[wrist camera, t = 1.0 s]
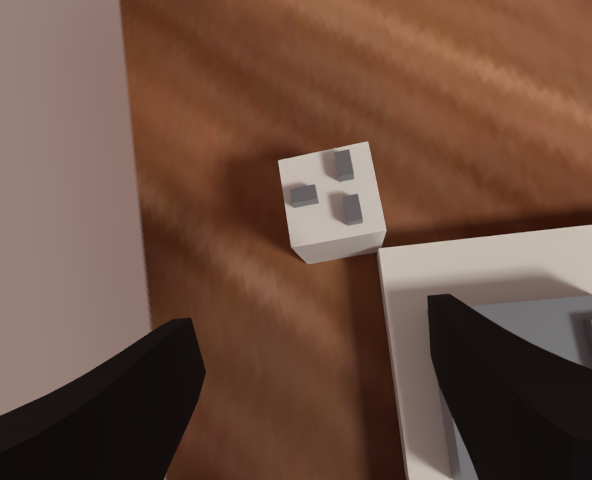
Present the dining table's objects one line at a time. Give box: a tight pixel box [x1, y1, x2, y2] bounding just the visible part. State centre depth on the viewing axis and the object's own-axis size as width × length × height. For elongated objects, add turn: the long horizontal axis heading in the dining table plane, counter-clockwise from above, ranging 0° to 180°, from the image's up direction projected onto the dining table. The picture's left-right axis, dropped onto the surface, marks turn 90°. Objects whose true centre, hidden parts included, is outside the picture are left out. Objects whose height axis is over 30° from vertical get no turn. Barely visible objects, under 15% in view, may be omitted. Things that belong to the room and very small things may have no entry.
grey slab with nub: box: [427, 295, 592, 480], centre depth 17 cm, size 8×8×3 cm
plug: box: [278, 142, 387, 264], centre depth 21 cm, size 4×4×7 cm
